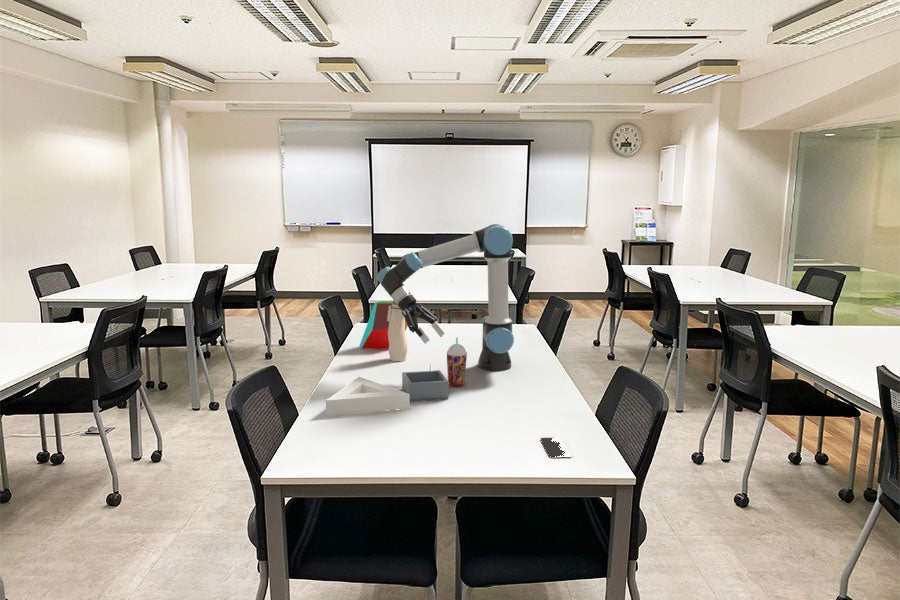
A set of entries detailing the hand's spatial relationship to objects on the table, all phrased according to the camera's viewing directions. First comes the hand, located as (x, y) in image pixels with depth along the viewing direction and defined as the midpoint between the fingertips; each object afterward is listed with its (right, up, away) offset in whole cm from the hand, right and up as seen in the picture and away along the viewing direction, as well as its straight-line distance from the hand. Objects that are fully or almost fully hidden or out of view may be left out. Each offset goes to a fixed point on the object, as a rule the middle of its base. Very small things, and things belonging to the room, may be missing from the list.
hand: (435, 338), depth 261 cm
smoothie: (+9, -19, -1) cm, 21 cm away
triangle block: (-27, -23, -22) cm, 41 cm away
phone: (+39, -31, -63) cm, 81 cm away
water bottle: (-19, -12, +37) cm, 44 cm away
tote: (-4, -21, -13) cm, 25 cm away
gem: (-26, -8, +60) cm, 66 cm away
